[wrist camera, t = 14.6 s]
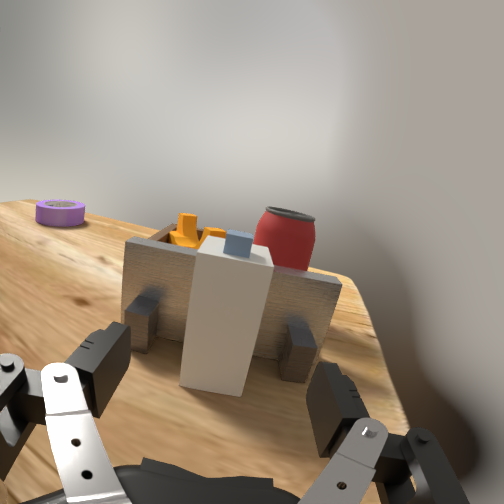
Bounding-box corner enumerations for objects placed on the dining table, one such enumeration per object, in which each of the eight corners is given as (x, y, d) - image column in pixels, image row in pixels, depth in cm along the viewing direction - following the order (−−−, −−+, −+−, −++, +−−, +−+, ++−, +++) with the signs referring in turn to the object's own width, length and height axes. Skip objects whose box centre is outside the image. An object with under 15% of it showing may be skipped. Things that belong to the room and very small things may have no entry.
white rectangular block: (179, 385, 19) (200, 231, 17) (189, 349, 24) (210, 219, 21) (242, 397, 19) (280, 247, 17) (242, 359, 24) (272, 231, 22)
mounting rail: (107, 342, 21) (109, 249, 20) (138, 304, 29) (145, 230, 27) (321, 384, 23) (354, 298, 21) (306, 337, 30) (327, 267, 28)
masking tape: (37, 227, 46) (38, 208, 45) (33, 215, 53) (34, 198, 52) (89, 227, 55) (91, 209, 54) (77, 215, 62) (78, 199, 61)
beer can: (286, 331, 31) (316, 221, 28) (230, 312, 33) (252, 205, 30) (298, 310, 37) (323, 218, 34) (250, 295, 39) (270, 205, 36)
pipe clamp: (164, 248, 50) (169, 211, 49) (186, 249, 53) (192, 214, 51) (191, 274, 41) (199, 229, 39) (218, 274, 43) (226, 231, 42)
